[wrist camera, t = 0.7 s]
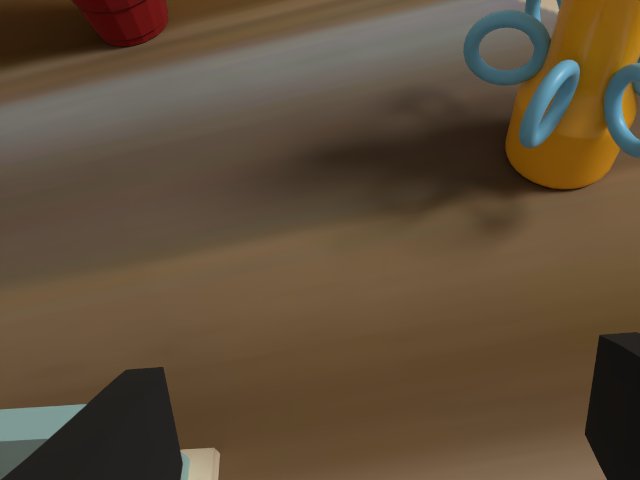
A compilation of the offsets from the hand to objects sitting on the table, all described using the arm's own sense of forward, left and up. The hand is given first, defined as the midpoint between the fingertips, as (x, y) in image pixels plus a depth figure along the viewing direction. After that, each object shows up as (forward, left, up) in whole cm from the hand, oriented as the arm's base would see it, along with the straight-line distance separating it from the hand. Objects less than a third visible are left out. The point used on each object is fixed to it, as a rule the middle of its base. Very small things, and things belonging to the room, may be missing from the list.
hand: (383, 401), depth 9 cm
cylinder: (+19, -12, -16) cm, 28 cm away
